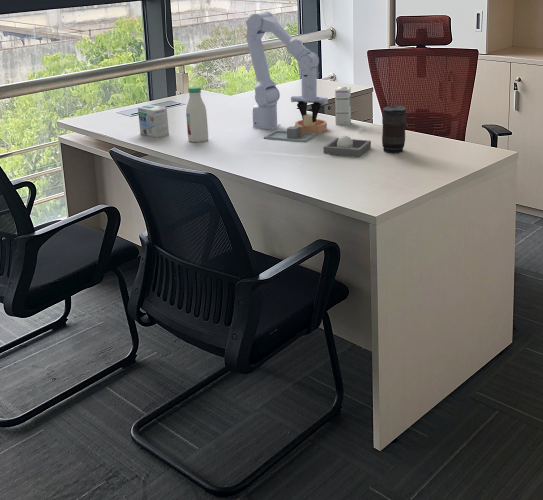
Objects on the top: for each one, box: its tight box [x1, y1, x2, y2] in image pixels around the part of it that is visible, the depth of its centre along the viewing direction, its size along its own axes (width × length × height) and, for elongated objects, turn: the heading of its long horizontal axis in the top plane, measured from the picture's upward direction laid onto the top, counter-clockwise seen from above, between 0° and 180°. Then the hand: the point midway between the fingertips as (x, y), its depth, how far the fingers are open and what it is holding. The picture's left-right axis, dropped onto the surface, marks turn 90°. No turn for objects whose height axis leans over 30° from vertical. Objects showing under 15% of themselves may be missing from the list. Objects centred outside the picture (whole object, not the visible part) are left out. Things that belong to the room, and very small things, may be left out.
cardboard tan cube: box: [293, 125, 305, 137], centre depth 256 cm, size 4×4×4 cm
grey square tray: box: [323, 137, 372, 158], centre depth 237 cm, size 13×13×3 cm
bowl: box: [294, 118, 328, 134], centre depth 265 cm, size 12×12×3 cm
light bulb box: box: [137, 104, 170, 138], centre depth 268 cm, size 11×7×11 cm, turn 47°
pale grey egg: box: [336, 135, 353, 149], centre depth 237 cm, size 8×6×6 cm
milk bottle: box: [185, 86, 209, 143], centre depth 255 cm, size 8×8×20 cm
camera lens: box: [381, 105, 407, 154], centre depth 233 cm, size 8×8×15 cm
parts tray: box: [263, 129, 317, 143], centre depth 257 cm, size 17×11×1 cm, turn 65°
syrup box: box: [334, 86, 352, 127], centre depth 272 cm, size 6×6×14 cm
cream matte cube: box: [302, 113, 315, 126], centre depth 262 cm, size 4×4×4 cm
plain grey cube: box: [286, 126, 299, 139], centre depth 254 cm, size 4×4×4 cm
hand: (309, 121), depth 263 cm, fingers closed on cream matte cube, 3 cm apart
